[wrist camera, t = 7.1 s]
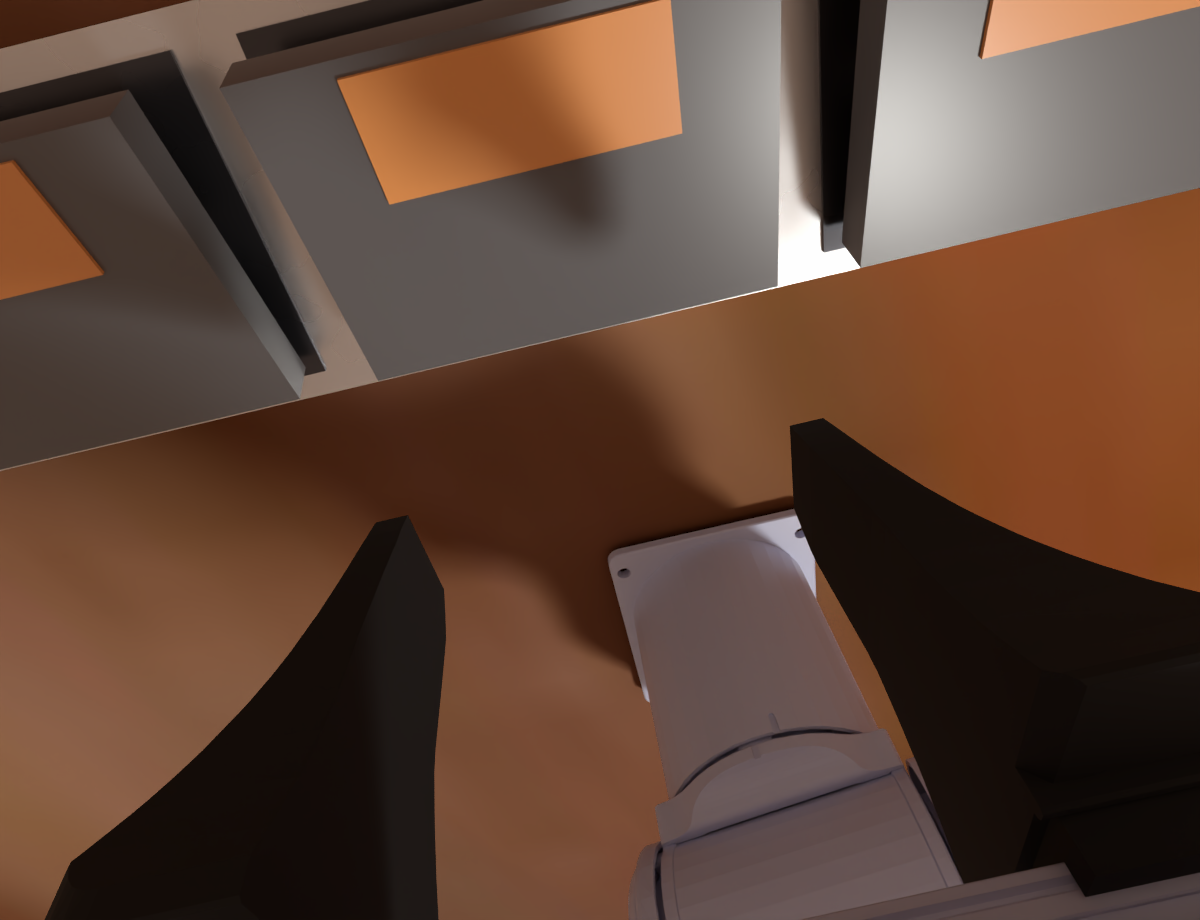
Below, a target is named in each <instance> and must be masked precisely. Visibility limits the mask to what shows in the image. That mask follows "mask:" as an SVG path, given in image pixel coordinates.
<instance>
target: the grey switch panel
mask: <svg viewBox="0 0 1200 920" xmlns="http://www.w3.org/2000/svg"><path fill="white" fill-rule="evenodd" d="M479 1H483V0H192V1H188V2H184V3H180V4H176V5H172V6H168V7H164V8H160V9H156V10H152V11H148V12H144V13H140V14H136V15H132V16H128V17H124V18H120V19H116V20H113V21H109V22H105V23H101V24H97V25H93V26H89V27H85V28H81V29H77V30H73V31H69V32H65V33H61V34H57V35H53V36H49V37H45V38H41V39H37V40H33V41H29V42H25V43H22V44H18V45H14V46H10V47H6V48H2V49H0V121H4V120H8V119H12V118H16V117H20V116H24V115H28V114H32V113H36V112H40V111H44V110H48V109H52V108H56V107H60V106H64V105H68V104H72V103H76V102H80V101H84V100H88V99H92V98H96V97H100V96H104V95H108V94H112V93H116V92H120V91H124V90H129V91H130V93H131V94H132V96H133V97H134V99H135V100H136V102H137V104H138V105H139V107H140V108H141V110H142V111H143V113H144V115H145V116H146V118H147V119H148V121H149V122H150V124H151V126H152V127H153V129H154V130H155V132H156V133H157V135H158V137H159V138H160V140H161V141H162V143H163V144H164V146H165V148H166V149H167V151H168V152H169V154H170V155H171V157H172V159H173V160H174V162H175V163H176V165H177V166H178V168H179V170H180V171H181V173H182V174H183V176H184V177H185V179H186V180H187V182H188V184H189V185H190V187H191V188H192V190H193V191H194V193H195V195H196V196H197V198H198V199H199V201H200V202H201V204H202V206H203V207H204V209H205V210H206V212H207V213H208V215H209V217H210V218H211V220H212V221H213V223H214V224H215V226H216V228H217V229H218V231H219V232H220V234H221V235H222V237H223V239H224V240H225V242H226V243H227V245H228V246H229V248H230V250H231V251H232V253H233V254H234V256H235V257H236V259H237V260H238V262H239V264H240V265H241V267H242V268H243V270H244V271H245V273H246V275H247V276H248V278H249V279H250V281H251V282H252V284H253V286H254V287H255V289H256V290H257V292H258V293H259V295H260V297H261V298H262V300H263V301H264V303H265V304H266V306H267V308H268V309H269V311H270V312H271V314H272V315H273V317H274V319H275V320H276V322H277V323H278V325H279V326H280V328H281V330H282V331H283V333H284V334H285V336H286V337H287V339H288V340H289V342H290V344H291V345H292V347H293V348H294V350H295V351H296V353H297V355H298V356H299V358H300V359H301V361H302V362H303V364H304V366H305V367H306V368H305V374H304V380H303V385H302V391H301V396H300V399H298V400H294V401H289V402H285V403H281V404H277V405H272V406H268V407H264V408H260V409H255V410H251V411H247V412H243V413H239V414H234V415H230V416H226V417H222V418H217V419H213V420H209V421H205V422H200V423H196V424H192V425H188V426H184V427H179V428H175V429H171V430H167V431H162V432H158V433H154V434H150V435H145V436H141V437H137V438H133V439H129V440H134V439H138V438H142V437H146V436H151V435H155V434H159V433H163V432H168V431H172V430H176V429H180V428H185V427H189V426H193V425H197V424H201V423H206V422H210V421H214V420H218V419H223V418H227V417H231V416H235V415H240V414H244V413H248V412H252V411H256V410H261V409H265V408H269V407H273V406H278V405H282V404H286V403H290V402H295V401H299V400H303V399H307V398H311V397H316V396H320V395H324V394H328V393H333V392H337V391H341V390H345V389H350V388H354V387H358V386H362V385H367V384H371V383H375V382H379V381H378V380H377V378H376V376H375V374H374V372H373V370H372V369H371V367H370V365H369V363H368V361H367V359H366V358H365V356H364V354H363V352H362V350H361V348H360V346H359V345H358V343H357V341H356V339H355V337H354V335H353V334H352V332H351V330H350V328H349V326H348V324H347V323H346V321H345V319H344V317H343V315H342V313H341V311H340V310H339V308H338V306H337V304H336V302H335V300H334V299H333V297H332V295H331V293H330V291H329V289H328V288H327V286H326V284H325V282H324V280H323V278H322V277H321V275H320V273H319V271H318V269H317V267H316V265H315V264H314V262H313V260H312V258H311V256H310V254H309V253H308V251H307V249H306V247H305V245H304V243H303V242H302V240H301V238H300V236H299V234H298V232H297V230H296V229H295V227H294V225H293V223H292V221H291V219H290V218H289V216H288V214H287V212H286V210H285V208H284V207H283V205H282V203H281V201H280V199H279V197H278V195H277V194H276V192H275V190H274V188H273V186H272V184H271V183H270V181H269V179H268V177H267V175H266V173H265V172H264V170H263V168H262V166H261V164H260V162H259V160H258V159H257V157H256V155H255V153H254V151H253V149H252V148H251V146H250V144H249V142H248V140H247V138H246V137H245V135H244V133H243V131H242V129H241V127H240V126H239V124H238V122H237V120H236V118H235V116H234V114H233V113H232V111H231V109H230V107H229V105H228V103H227V102H226V100H225V98H224V96H223V94H222V92H221V91H220V89H219V88H220V86H221V84H222V82H223V80H224V78H225V76H226V74H227V72H228V70H229V68H230V66H231V64H232V63H235V62H239V61H243V60H247V59H251V58H255V57H259V56H263V55H267V54H271V53H275V52H279V51H283V50H287V49H291V48H295V47H299V46H303V45H307V44H311V43H315V42H319V41H323V40H327V39H331V38H335V37H339V36H343V35H347V34H351V33H355V32H359V31H363V30H367V29H371V28H375V27H379V26H383V25H387V24H391V23H395V22H399V21H403V20H407V19H411V18H415V17H419V16H423V15H427V14H431V13H435V12H439V11H443V10H447V9H451V8H455V7H459V6H463V5H467V4H471V3H475V2H479ZM859 13H860V0H781V69H780V151H779V233H778V287H781V286H786V285H790V284H794V283H798V282H802V281H807V280H811V279H815V278H819V277H824V276H828V275H832V274H836V273H841V272H845V271H849V270H853V269H857V268H860V267H859V265H858V264H857V263H856V261H855V260H854V258H853V257H852V256H851V254H850V253H849V252H848V250H847V249H846V247H845V246H844V245H843V243H842V232H843V219H844V206H845V194H846V181H847V168H848V155H849V142H850V129H851V116H852V103H853V91H854V78H855V65H856V52H857V39H858V26H859ZM773 288H777V287H773ZM773 288H769V289H773ZM769 289H765V290H769ZM761 291H764V290H761ZM756 292H760V291H756ZM756 292H752V293H756ZM752 293H748V294H752ZM744 295H747V294H744ZM740 296H743V295H740ZM735 297H739V296H735ZM735 297H731V298H735ZM731 298H727V299H731ZM723 300H726V299H723ZM718 301H722V300H718ZM718 301H714V302H718ZM714 302H710V303H714ZM706 304H709V303H706ZM701 305H705V304H701ZM701 305H697V306H701ZM697 306H693V307H697ZM689 308H692V307H689ZM684 309H688V308H684ZM684 309H680V310H684ZM680 310H676V311H680ZM672 312H675V311H672ZM668 313H671V312H668ZM663 314H667V313H663ZM663 314H659V315H663ZM659 315H655V316H659ZM651 317H654V316H651ZM646 318H650V317H646ZM646 318H642V319H646ZM642 319H638V320H642ZM634 321H637V320H634ZM629 322H633V321H629ZM629 322H625V323H629ZM625 323H621V324H625ZM617 325H620V324H617ZM613 326H616V325H613ZM608 327H612V326H608ZM608 327H604V328H608ZM604 328H600V329H604ZM596 330H599V329H596ZM591 331H595V330H591ZM591 331H587V332H591ZM587 332H583V333H587ZM579 334H582V333H579ZM574 335H578V334H574ZM574 335H570V336H574ZM570 336H566V337H570ZM562 338H565V337H562ZM558 339H561V338H558ZM553 340H557V339H553ZM553 340H549V341H553ZM549 341H545V342H549ZM541 343H544V342H541ZM536 344H540V343H536ZM536 344H532V345H536ZM532 345H528V346H532ZM524 347H527V346H524ZM519 348H523V347H519ZM519 348H515V349H519ZM515 349H511V350H515ZM507 351H510V350H507ZM503 352H506V351H503ZM498 353H502V352H498ZM498 353H494V354H498ZM490 355H493V354H490ZM486 356H489V355H486ZM481 357H485V356H481ZM481 357H477V358H481ZM477 358H473V359H477ZM469 360H472V359H469ZM464 361H468V360H464ZM464 361H460V362H464ZM460 362H456V363H460ZM452 364H455V363H452ZM448 365H451V364H448ZM443 366H447V365H443ZM443 366H439V367H443ZM435 368H438V367H435ZM431 369H434V368H431ZM426 370H430V369H426ZM426 370H422V371H426ZM422 371H418V372H422ZM414 373H417V372H414ZM409 374H413V373H409ZM409 374H405V375H409ZM405 375H401V376H405ZM397 377H400V376H397ZM393 378H396V377H393ZM388 379H392V378H388ZM388 379H384V380H388ZM380 381H383V380H380ZM129 440H124V441H120V442H116V443H112V444H107V445H103V446H99V447H95V448H90V449H86V450H82V451H78V452H74V453H79V452H83V451H87V450H91V449H96V448H100V447H104V446H108V445H113V444H117V443H121V442H125V441H129ZM74 453H69V454H65V455H61V456H57V457H52V458H48V459H44V460H40V461H35V462H31V463H27V464H23V465H19V466H24V465H28V464H32V463H36V462H41V461H45V460H49V459H53V458H58V457H62V456H66V455H70V454H74ZM19 466H14V467H10V468H6V469H2V470H0V471H3V470H7V469H11V468H15V467H19Z"/></svg>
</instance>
